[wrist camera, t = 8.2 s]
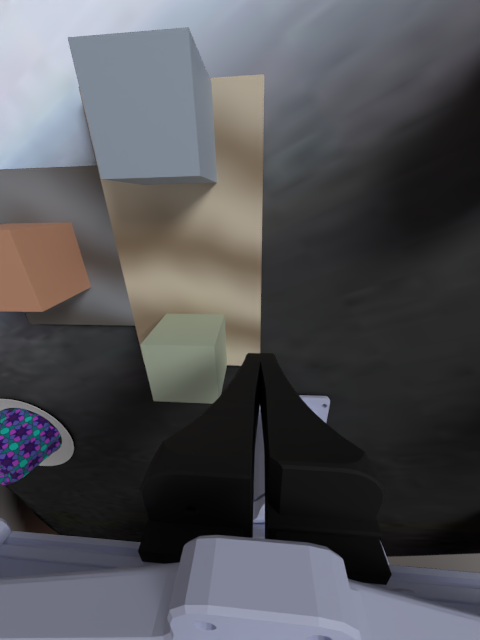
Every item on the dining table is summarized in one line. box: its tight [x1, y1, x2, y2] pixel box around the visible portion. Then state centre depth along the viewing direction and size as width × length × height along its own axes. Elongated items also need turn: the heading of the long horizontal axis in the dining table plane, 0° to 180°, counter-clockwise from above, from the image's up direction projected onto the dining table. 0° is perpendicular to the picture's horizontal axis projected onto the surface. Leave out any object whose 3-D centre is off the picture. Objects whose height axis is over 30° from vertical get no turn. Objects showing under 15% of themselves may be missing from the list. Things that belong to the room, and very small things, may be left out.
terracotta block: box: [0, 222, 91, 312], centre depth 17 cm, size 5×5×5 cm
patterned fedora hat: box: [0, 399, 74, 485], centre depth 29 cm, size 12×12×5 cm
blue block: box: [68, 28, 217, 185], centre depth 13 cm, size 5×5×5 cm
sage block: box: [141, 314, 227, 403], centre depth 19 cm, size 5×5×5 cm
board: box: [0, 75, 264, 366], centre depth 19 cm, size 20×21×1 cm
